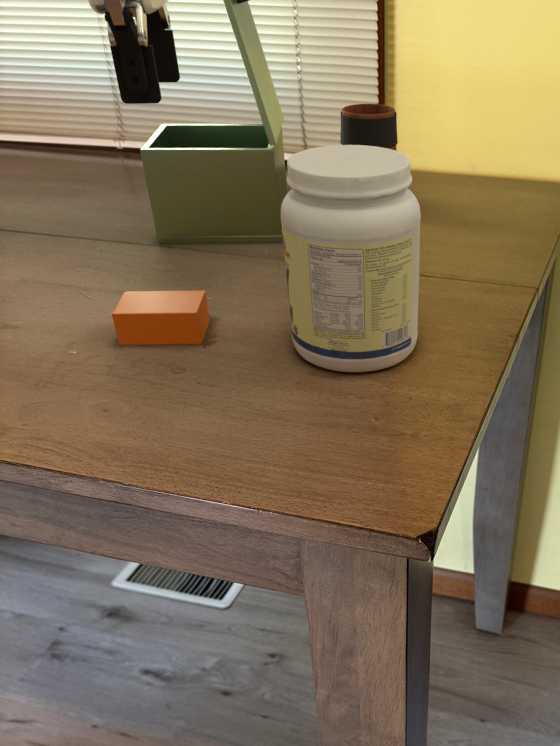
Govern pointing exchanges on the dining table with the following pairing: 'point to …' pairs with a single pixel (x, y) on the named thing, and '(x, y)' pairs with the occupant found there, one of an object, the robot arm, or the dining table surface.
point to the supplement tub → (352, 256)
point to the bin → (215, 183)
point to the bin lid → (255, 66)
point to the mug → (369, 125)
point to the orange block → (161, 317)
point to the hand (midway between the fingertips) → (153, 91)
